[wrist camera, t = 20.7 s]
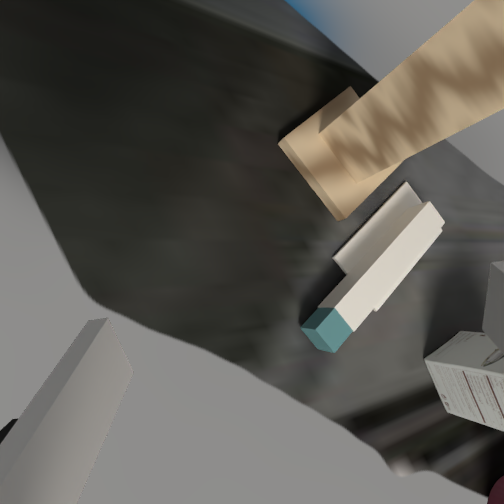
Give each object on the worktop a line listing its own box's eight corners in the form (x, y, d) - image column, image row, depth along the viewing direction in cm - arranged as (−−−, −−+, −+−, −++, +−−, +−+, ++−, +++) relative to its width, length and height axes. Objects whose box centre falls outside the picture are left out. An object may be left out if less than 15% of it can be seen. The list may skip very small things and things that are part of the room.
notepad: (332, 257, 38) (334, 257, 38) (404, 182, 44) (406, 181, 43) (374, 311, 39) (376, 311, 39) (439, 231, 45) (442, 230, 44)
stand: (277, 143, 38) (702, -289, 10) (343, 93, 42) (767, -310, 15) (337, 221, 39) (855, 25, 12) (395, 164, 44) (874, -78, 16)
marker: (299, 326, 35) (315, 328, 32) (408, 208, 43) (429, 200, 40) (317, 349, 36) (335, 353, 33) (422, 228, 43) (445, 222, 40)
